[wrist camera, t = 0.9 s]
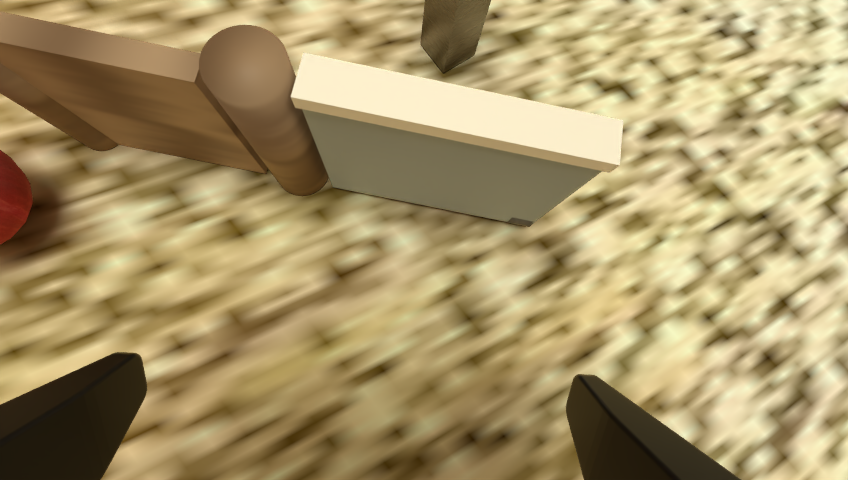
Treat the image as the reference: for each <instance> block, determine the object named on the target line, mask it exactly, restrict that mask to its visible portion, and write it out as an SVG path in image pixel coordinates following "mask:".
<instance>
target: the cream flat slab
mask: <svg viewBox="0 0 848 480" xmlns="http://www.w3.org/2000/svg"><path fill="white" fill-rule="evenodd" d="M291 99H292V101H293V104H294V106H295V108H299V109H302V110H303V113H304V115H305V118H306V121H307V123H308V126H309V128H310V131H311V133H312V136H313V138H314V141H315V143H316V146H317V148H318V151H319V153H320V156H321V158H322V161H323V163H324V166H325V169H326V171H327V174H328V176H329V179H330V181H331V184H332V186H333V187H335V188H340V189H345V190H350V191H355V192H360V193H365V194H370V195H375V196H380V197H385V198H390V199H395V200H400V201H405V202H410V203H415V204H420V205H425V206H430V207H435V208H440V209H445V210H450V211H455V212H460V213H465V214H470V215H475V216H480V217H485V218H490V219H495V220H500V221H505V222H508V223H512V224H517V225H522V226H527V227H530V226H531V225H532V224H533V223H534V222H535V221H537V220H538V219H539V218H541V217H542V216H543V215H545V214H546V213H547V212H549V211H550V210H551V209H553V208H554V207H555V206H557V205H558V204H559V203H561V202H562V201H563V200H564V199H566V198H567V197H568V196H570V195H571V194H572V193H574V192H575V191H576V190H578V189H579V188H580V187H582V186H583V185H584V184H586V183H587V182H588V181H590V180H591V179H592V178H594V177H595V176H596V175H598V174H599V173H600V172H601V171H604V172H609V173H610V172H611V171H612V170H614V169H615V168H617V167H618V166H619V165H620V155H621V142H622V130H623V120H620V119H615V118H611V117H606V116H601V115H596V114H592V113H587V112H582V111H578V110H573V109H568V108H563V107H559V106H554V105H549V104H545V103H540V102H535V101H530V100H526V99H521V98H516V97H512V96H507V95H502V94H497V93H493V92H488V91H483V90H479V89H474V88H469V87H464V86H460V85H455V84H450V83H445V82H441V81H436V80H431V79H427V78H422V77H417V76H412V75H408V74H403V73H398V72H394V71H389V70H384V69H379V68H375V67H370V66H365V65H361V64H356V63H351V62H346V61H342V60H337V59H332V58H328V57H323V56H318V55H313V54H309V53H304V52H303V56H302V59H301V63H300V66H299V70H298V73H297V76H296V80H295V83H294V87H293V90H292V94H291Z"/></svg>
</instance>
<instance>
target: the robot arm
mask: <svg viewBox="0 0 848 480" xmlns="http://www.w3.org/2000/svg"><path fill="white" fill-rule="evenodd" d="M146 392H147V382H146V377H145V372H144V367H143V362H142V358H141V356H140V355H139V354H137V353H125V352H117V353H113V354H111V355H109V356H107V357H104V358H102V359H100V360H98V361H96V362H93V363H91V364H89V365H87V366H85V367H82V368H80V369H78V370H76V371H74V372H71V373H69V374H67V375H65V376H63V377H60V378H58V379H56V380H54V381H52V382H49V383H47V384H45V385H43V386H41V387H38V388H36V389H34V390H32V391H30V392H27V393H25V394H23V395H21V396H19V397H16V398H14V399H12V400H10V401H8V402H6V403H3V404H1V405H0V480H101V478H102V476H103V475H104V473H105V472H106V470H107V468H108V466H109V464H110V463H111V461H112V459H113V457H114V455H115V453H116V452H117V450H118V448H119V446H120V444H121V442H122V440H123V438H124V436H125V434H126V433H127V431H128V429H129V427H130V425H131V423H132V421H133V419H134V417H135V416H136V414H137V412H138V410H139V408H140V406H141V404H142V402H143V400H144V398H145V396H146ZM566 413H567V418H568V422H569V426H570V429H571V433H572V437H573V440H574V444H575V448H576V452H577V455H578V459H579V463H580V467H581V470H582V474H583V478H584V480H741V479H739V478H738V477H737V476H735V475H734V474H732V473H731V472H730V471H728V470H727V469H725V468H724V467H723V466H721V465H720V464H718V463H717V462H716V461H714V460H713V459H712V458H710V457H709V456H707V455H706V454H705V453H703V452H702V451H700V450H699V449H698V448H696V447H695V446H693V445H692V444H691V443H689V442H688V441H686V440H685V439H684V438H682V437H681V436H679V435H678V434H677V433H675V432H674V431H672V430H671V429H670V428H668V427H667V426H665V425H664V424H663V423H661V422H660V421H658V420H657V419H656V418H654V417H653V416H652V415H650V414H649V413H647V412H646V411H645V410H643V409H642V408H640V407H639V406H638V405H636V404H635V403H633V402H632V401H631V400H629V399H628V398H626V397H625V396H624V395H622V394H621V393H619V392H618V391H617V390H615V389H614V388H612V387H611V386H610V385H608V384H607V383H605V382H604V381H603V380H601V379H600V378H598V377H597V376H595V375H584V374H578V375H576V376H575V377H574V379H573V382H572V385H571V389H570V392H569V396H568V400H567V404H566Z"/></svg>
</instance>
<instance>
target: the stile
mask: <svg viewBox="0 0 848 480" xmlns="http://www.w3.org/2000/svg"><path fill="white" fill-rule="evenodd" d="M490 2H491V0H425V6H424V16H423V25H422V35H421V46H422V47H423V48H424V49H425V51H426V52H427V53H428V55H429V56H430V57H431V58H432V60H433V61H434V62H435V64H436V65H437V66H438V67H439V69H440V70H441V71H442V72H443V73H445V72H447V71H448V70H450V69H452V68H453V67H455V66H457V65H458V64H460V63H462V62H463V61H465V60H467V59H468V58H470V57H472V56H473V55H474V54H475V51H476V48H477V45H478V41H479V38H480V35H481V31H482V28H483V25H484V22H485V18H486V15H487V12H488V8H489V5H490Z"/></svg>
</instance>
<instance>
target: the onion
mask: <svg viewBox="0 0 848 480" xmlns="http://www.w3.org/2000/svg"><path fill="white" fill-rule="evenodd" d="M32 204H33V199H32V192H31V186H30V182H29V181H28V179H27V177H26V176H25V174H24V173H23V171H22V170H21V169H20V168H19V167H18V165H17V164H16V163H15V162H14V161H13V160H12V158H11V157H9V156H8V155H7V154H5V153H4V152H2V151H1V150H0V244H2V243H4V242H5V241H7V240H9V239H10V238H12V237H13V236H14V235H15V234H16V233H17V231H18V230H19V229H20V228H21V227H22V226H23V225H24V224H25V222H26V220H27V218H28V215H29V212H30V209H31V206H32Z"/></svg>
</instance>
